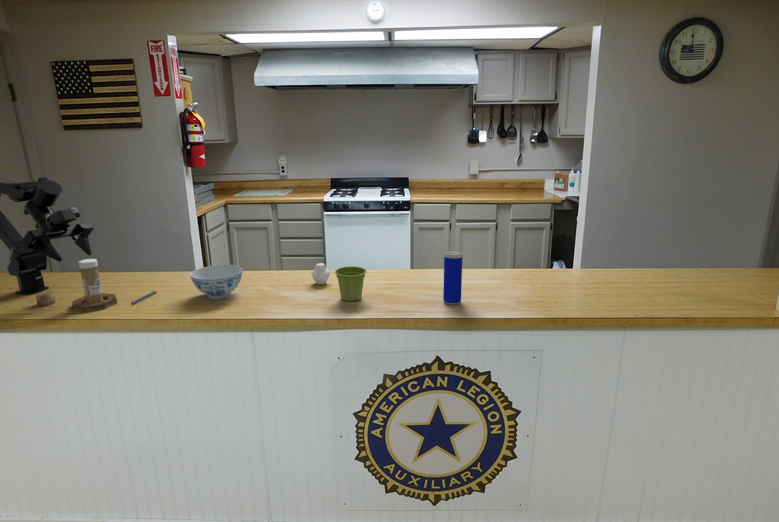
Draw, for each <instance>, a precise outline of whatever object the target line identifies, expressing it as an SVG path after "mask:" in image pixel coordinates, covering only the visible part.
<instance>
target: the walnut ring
mask: <svg viewBox="0 0 779 522" xmlns="http://www.w3.org/2000/svg"><path fill="white" fill-rule="evenodd" d="M102 295H103V300H105V301H103V302H100V303H94V304H87V301H86V296H85V295H84V296H82V297H79V298H77V299H75V300H72V301H71V305H72V306H71V307H72V311H74V312H81V311H86V312H85V313H88V312H87V311H90V312H93V310H95V311H100V310H99V309H101V310H105V308H106V309H108V308H110V307H112V306H114V305H117V304H118V299H117V296H116V294H115V293H107V292H106V293H105V292H102ZM85 303H86V304H85ZM107 307H108V308H107Z"/></svg>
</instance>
